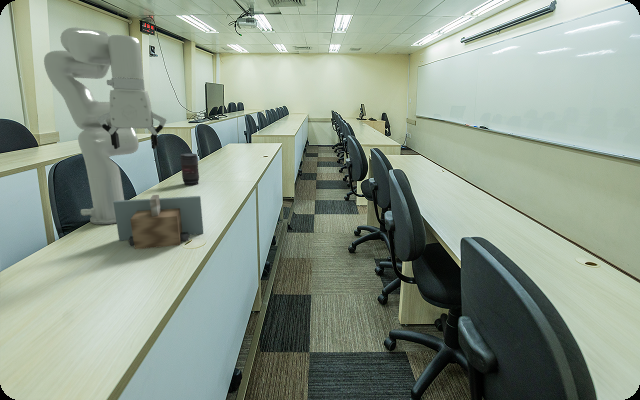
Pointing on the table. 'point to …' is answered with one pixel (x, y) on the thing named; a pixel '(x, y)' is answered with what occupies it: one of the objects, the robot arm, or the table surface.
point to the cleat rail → (183, 237)
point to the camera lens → (189, 169)
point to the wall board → (187, 205)
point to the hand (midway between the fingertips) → (135, 148)
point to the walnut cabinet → (156, 226)
